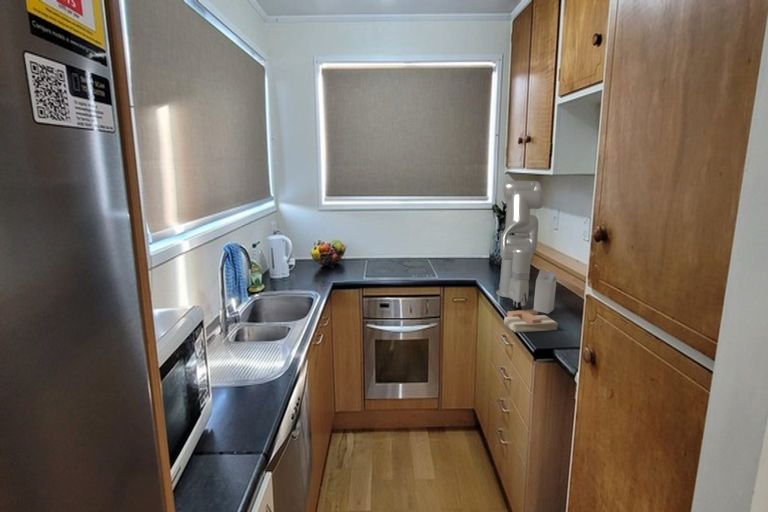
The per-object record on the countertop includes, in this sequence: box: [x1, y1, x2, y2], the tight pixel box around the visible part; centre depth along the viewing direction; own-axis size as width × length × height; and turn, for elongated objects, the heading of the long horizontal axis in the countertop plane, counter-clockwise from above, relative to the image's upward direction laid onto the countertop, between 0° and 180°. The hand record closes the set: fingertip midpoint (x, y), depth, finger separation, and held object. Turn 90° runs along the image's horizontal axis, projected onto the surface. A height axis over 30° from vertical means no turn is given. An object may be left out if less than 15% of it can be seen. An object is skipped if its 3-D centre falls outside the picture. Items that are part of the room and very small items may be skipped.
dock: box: [503, 314, 559, 333], centre depth 185 cm, size 10×19×3 cm, turn 101°
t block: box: [506, 308, 541, 323], centre depth 189 cm, size 12×13×4 cm
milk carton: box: [532, 269, 558, 314], centre depth 204 cm, size 7×7×19 cm
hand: (517, 314), depth 197 cm, fingers closed
